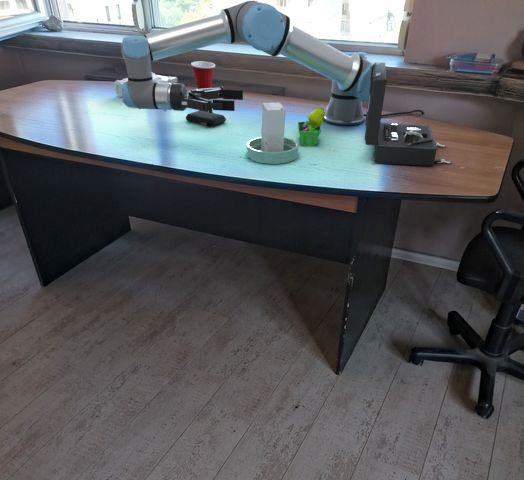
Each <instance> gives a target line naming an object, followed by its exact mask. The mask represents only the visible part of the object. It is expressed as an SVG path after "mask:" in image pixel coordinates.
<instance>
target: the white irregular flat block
mask: <svg viewBox="0 0 524 480" xmlns="http://www.w3.org/2000/svg"><path fill="white" fill-rule="evenodd" d="M152 78H153V82H154V83H171V84H177V83H178V82H179V81H178V77H177V76H165V75H160V74H156V73H155V72H152ZM126 81H128V77H126V78H122V79H121V80H119V79H116V80H115V81H114V84H113V88H114V91H115V94H116V95H117V96H118V97H119V100H121V101H123V98H122V85H123V83H124V82H126Z"/></svg>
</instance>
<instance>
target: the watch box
mask: <svg viewBox="0 0 524 480" xmlns="http://www.w3.org/2000/svg"><path fill="white" fill-rule="evenodd" d="M373 63H374V64H373V65H372V70H371V78H370V82H371V84H370V91H369V99H368V102H367V105H366V107H367V108H366V113H365V114H366V116H365V121H364V124H365V125H364V126H365V132H364V144H365V145H366V146H373V148H374V150H373V158H374V163H376V164H387V165H389V164H390V165H404V166H418V167H419V166H420V167H433V165H434V164H435V163H436V164H442V163H446V164H449V165H450V164H451V161H450V160H449V161H448V160H447V161H446V160H445V159H444V158H442V159H441V158H436V154H437V150H438V148H437V147H438V146H440V147H441V148H442V147H443V148H445V146H446V145H445V144H443V145H442V144H440V142H435V138H434V134H433V131H432V128H431V125H430V124H419V123H418V124H415V123H399V122H398V123H397V122H381V120H382V117H381V115H383V107H384V101H385V94H386V88H387V82H388V79H387V68H386V62H380V61H377V62H373Z"/></svg>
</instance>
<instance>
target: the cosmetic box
mask: <svg viewBox="0 0 524 480" xmlns="http://www.w3.org/2000/svg"><path fill="white" fill-rule="evenodd" d="M261 104H262V105H261V107H262V111H261V136H260V137H261V151H264V152H283V146H284V137H285V130H286V129H285V128H286V126H285V125H286V111H287V110H286V109H285V108H284V106H283V105H282V103H280V102H262V103H261Z"/></svg>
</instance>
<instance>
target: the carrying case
mask: <svg viewBox="0 0 524 480" xmlns="http://www.w3.org/2000/svg"><path fill="white" fill-rule="evenodd" d="M185 120H186V121H187V123H191V124H195V125H199V126H202V127H207V128H214V127H217V126H221V125H224V124H225V123H226V121H227V117H225V116H224V115H223V114H219V113H215V112H212V113H209V111H208V112H205V111H200V110H195V111H193V112H190V113H189V112H188V113H187V114H186V116H185Z"/></svg>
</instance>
